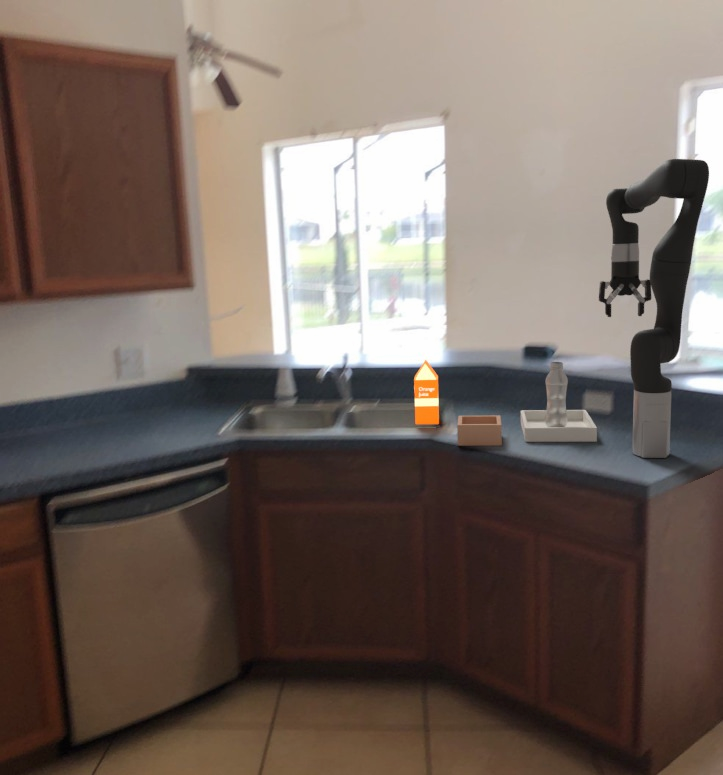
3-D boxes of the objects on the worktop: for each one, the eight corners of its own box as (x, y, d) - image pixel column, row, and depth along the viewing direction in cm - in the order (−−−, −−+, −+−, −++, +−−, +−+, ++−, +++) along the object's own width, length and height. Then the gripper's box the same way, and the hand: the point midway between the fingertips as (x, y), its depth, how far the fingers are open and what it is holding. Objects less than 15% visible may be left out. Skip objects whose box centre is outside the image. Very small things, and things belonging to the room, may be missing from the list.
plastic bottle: (540, 427, 234) (540, 362, 230) (559, 424, 236) (559, 360, 232) (552, 431, 228) (553, 365, 224) (572, 429, 230) (572, 363, 226)
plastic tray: (596, 441, 219) (596, 427, 218) (525, 441, 222) (525, 428, 221) (585, 422, 242) (585, 409, 242) (520, 422, 245) (520, 410, 245)
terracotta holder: (501, 445, 219) (501, 424, 218) (457, 445, 221) (457, 425, 220) (500, 434, 231) (500, 415, 230) (458, 434, 233) (458, 415, 232)
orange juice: (439, 418, 257) (437, 358, 253) (439, 424, 248) (437, 362, 244) (415, 418, 258) (414, 359, 254) (414, 424, 249) (413, 363, 245)
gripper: (601, 261, 218) (601, 318, 220) (654, 258, 216) (653, 316, 218) (597, 260, 225) (597, 316, 228) (648, 258, 223) (647, 314, 226)
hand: (624, 316), depth 223 cm, fingers open, 8 cm apart
